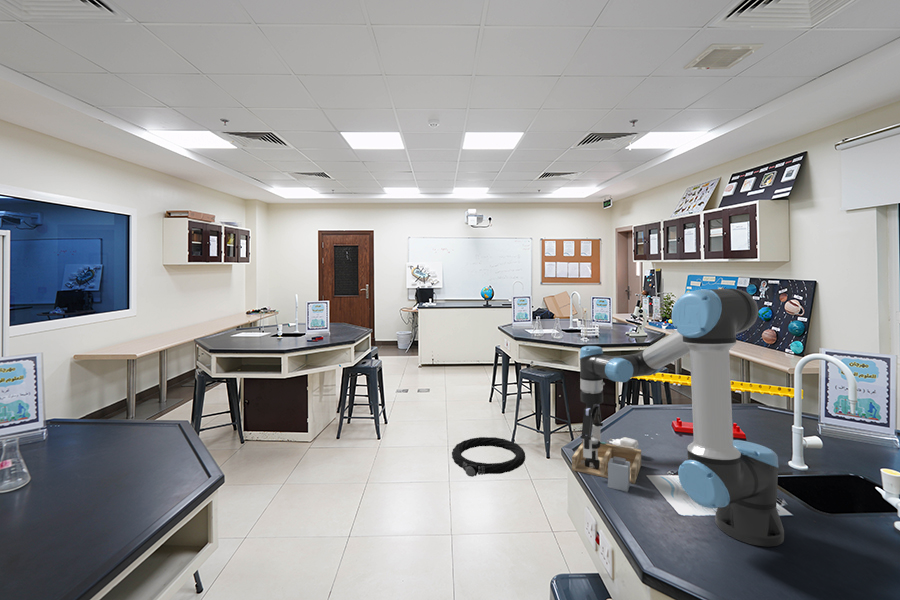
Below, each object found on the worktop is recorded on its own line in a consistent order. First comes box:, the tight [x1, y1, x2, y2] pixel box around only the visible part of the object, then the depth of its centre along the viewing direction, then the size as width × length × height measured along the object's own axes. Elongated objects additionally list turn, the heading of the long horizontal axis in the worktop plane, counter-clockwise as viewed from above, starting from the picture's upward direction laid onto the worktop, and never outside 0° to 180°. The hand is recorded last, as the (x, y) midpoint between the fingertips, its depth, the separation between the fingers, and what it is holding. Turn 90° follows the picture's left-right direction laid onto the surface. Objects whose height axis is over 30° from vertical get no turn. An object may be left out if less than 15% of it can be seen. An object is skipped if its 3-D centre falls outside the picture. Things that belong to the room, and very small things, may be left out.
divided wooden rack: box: [571, 439, 642, 485], centre depth 152 cm, size 16×20×6 cm
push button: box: [581, 436, 602, 470], centre depth 152 cm, size 7×5×10 cm
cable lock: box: [451, 436, 526, 478], centre depth 161 cm, size 28×4×30 cm
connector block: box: [607, 456, 631, 493], centre depth 139 cm, size 4×6×9 cm
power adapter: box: [606, 436, 639, 449], centre depth 165 cm, size 11×5×6 cm, turn 44°
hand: (592, 450), depth 152 cm, fingers open, 13 cm apart
